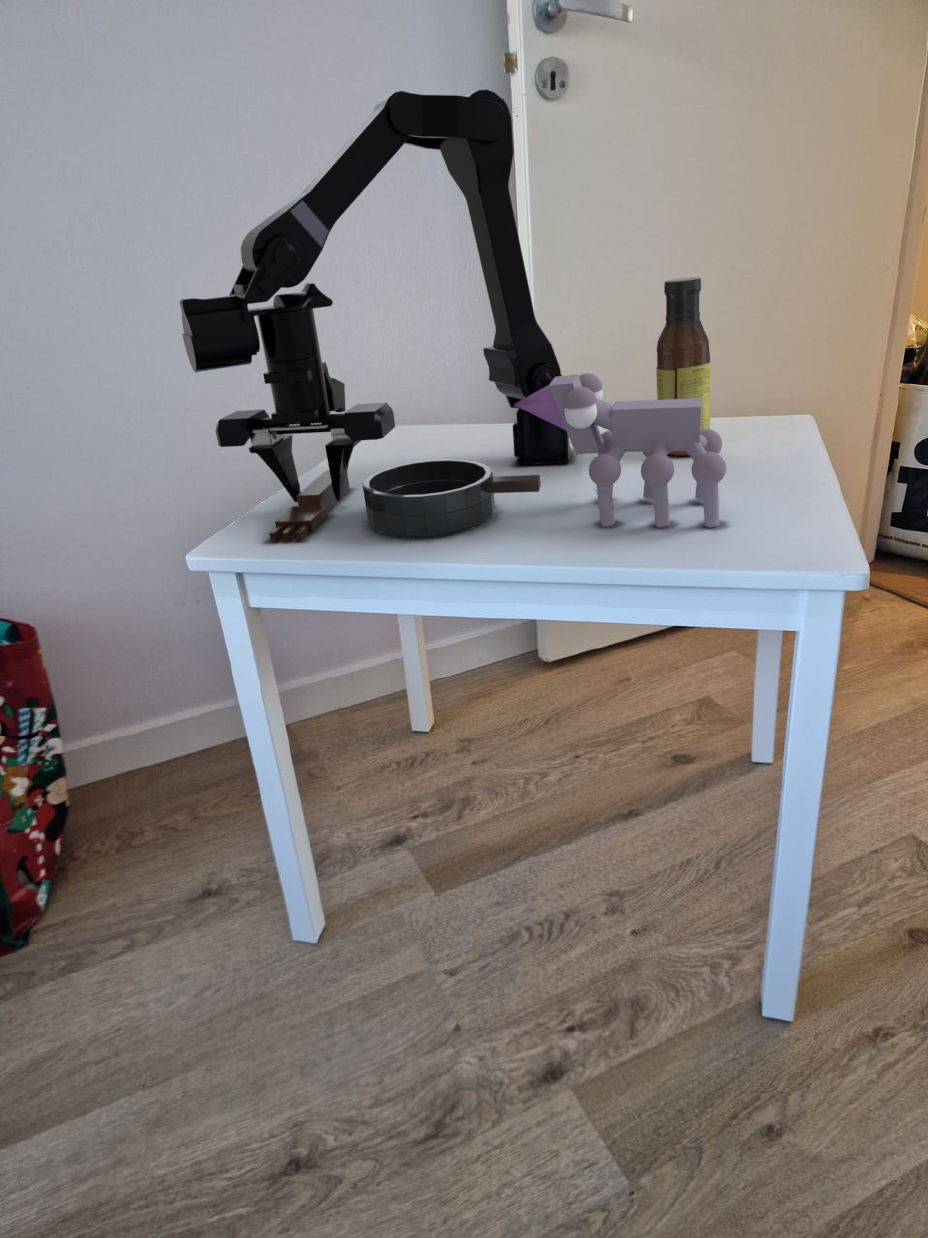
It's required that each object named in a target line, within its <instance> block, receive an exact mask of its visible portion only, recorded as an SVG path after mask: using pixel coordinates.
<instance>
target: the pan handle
mask: <svg viewBox="0 0 928 1238" xmlns="http://www.w3.org/2000/svg"><path fill="white" fill-rule="evenodd" d="M541 481H542V480H541V474H527V475H525V474H524V475H497V476H496V475H495V476H494V475H493V477H492V479H491V481H490V490H491V493H494V494H506V493H508V494H510V493H538V492H540V489H541V487H542V484H541V483H542V482H541Z"/></svg>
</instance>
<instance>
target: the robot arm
mask: <svg viewBox="0 0 928 1238" xmlns="http://www.w3.org/2000/svg"><path fill="white" fill-rule="evenodd" d="M404 145H409V146H412V147H416V148H420V149H425V150H433V151H440V153H441V156H442V158H443V162H444V164H445V167H446V168H447V171H448V173H449V175H450V176H451V178H452V179H453V181H454V182H455V184H456V185H457V187H458V188H459V190H460V191H461V193H462V195H463V196H464V199H465V201H466V204H467V209H468V214H469V218H470V222H471V227H472V231H473V235H474V239H475V242H476V243H475V244H476V247H477V253H478V256H479V261H480V266H481V270H482V274H483V278H484V282H485V287H486V292H487V296H488V301H489V304H490V309H491V313H492V318H493V322H494V326H495V327H494V328H495V333H494V339H493V344H492V346H488V347H487V346H486V347H484V348H483V349H482V350H483V356H484V358H485V361H486V364H487V367H488V381H489V382H493V383H494V384H495V388H496V389H497V390H498V392H500V393H501V394H503V395H505V398H506V400H507V403H508V405H509V408H511V409H517V410H516V413H515V414H516V420H515V421H514V422H513V424H512V441H513V456H514V457H515V458H517V459H516V465H518V466H521V465H522V466H523V465H548V464H549V465H550V464H551V465H553V464H569V462H570V460H571V459H570V458H571V455H572V446H570V445H571V444H570V443H571V441H570V438H569V436H568V433H567V431H566V430H564V429H562V428H560V427H558V426H556V425H554V424H552V423H550V422H548V421H546V420H544V419H542V418H540V417H538V416H536V415H534V414H532V413H530V412H528V411H525V410H523V409H521V408H519V407H517V406H515V405H514V404H516V403H518V402H519V401H521V400H523V399H525V398H526V397H528V396H530V395H532V394H534V393H535V392H537V391H539V390H541V389H543V388H544V387H546V386H548V385H550V383H551V382H552V381H553V379H554V378H555V377H558V376H563V375H562V370H561V367H560V364H559V361H558V359H557V355H556V353H555V351H554V347H553V345H552V343H551V341H550V339H549V338H548V337H547V335H546V333H545V332H544V330H543V329H542V328H541V326H540V325H539V323H538V321H537V318H536V315H535V310H534V305H533V299H532V295H531V290H530V285H529V280H528V276H527V275H528V274H527V270H526V266H525V265H526V264H525V261H524V256H523V251H522V246H521V241H520V237H519V232H518V227H517V221H516V216H515V211H514V206H513V202H512V196H511V193H510V177H511V172H512V167H513V160H514V154H515V150H514V149H515V147H514V133H513V119H512V114H511V110H510V108H509V105H508V102H506V100H505V99H504V98H502V97H501V96H500V95H499V94H497V93H496V92H495V91H492V90H489V89H477V90H476V91H474V92H471V93H468V94H466V95H455V94H454V95H453V94H451V95H450V94H419V93H412V92H409V91H404V90H399V91H395V92H392V93H391V94H389V95H387V96H385V97H383V98H381V99H380V100H379V101H377V103H376V104H375V106H374V108H373V110H372V111H371V113H370V115H368V116H367V118H366V120H364V122H363V123H362V124H360V126H359V127H358V128H357V130H355V132H354V133H353V134H352V135H351V136H350V137H349V139H348V140H347V141H346V142H345V143H344V144H343V145H342V147H341V148H340V149H339V150H338V151H337V152H336V153H335V154H334V156H333V157H332V158H331V159H330V160H329V162H327V163H326V165H325V166H323V168H322V169H321V170H320V171H319V173H317V175H316V176H315V177H314V179H312V181H311V182H310V183H309V184H308V185H307V186H306V188H305V189H304V190H303V191H302V192H301V193H300V194H299V195H298V196H297V197H295V198H294V199H292V200H291V201H290V202H289V203H286V204H285V205H284V206H282V207H281V208H279V209H278V210H276V211H275V212H274V213H272V214H271V215H269V216H268V217H267V218H266V219H264V220H263V221H262V222H260V223H259V224H257V225H256V226H254V228H253V229H251V230H250V231H249V232H248V233H247V234H246V235H245V236H244V238H243V240H242V242H241V245H240V255H241V257H240V259H241V263H242V266H241V268H240V270H239V272H238V275H237V277H236V279H235V282H234V284H233V285H232V288H231V290H230V293H228V294H229V295H225V296H217V297H209V298H196V297H188V298H181V299H180V300H179V307H180V311H181V322H182V323H181V324H182V330H183V332H182V334H181V335H182V340H183V344H184V347H185V351H186V355H187V358H188V361H189V364H190V367H191V368H192V370H193V372H194V373H201V372H206V371H207V372H208V371H214V370H221V369H227V368H233V367H234V368H235V367H241V366H247V365H251V364H252V362H253V356H257V355H258V353H260V350H261V344H260V338H261V343H262V347H263V353H264V360H265V363H266V370H267V372H264V373H263V374H262V375H263V380H264V381H263V382H264V384H265V385H269V384H270V389H271V395H272V399H273V405H274V412H272V413H271V414H270V415H271V416H270V415H269V414H268V413H267V411H266V410H265V409H247V410H246V409H245V410H236V411H234V412H232V413H230V414H228V415H226V416H224V417H222V418H219V420H218V421H217V423H216V426H215V431H214V432H215V435H216V441H217V444H218V447H220V448H229V447H244V446H245V445H246V444H247V443H248V441H249V440H250V445H251V446H250V447H248V451H249V453H250V454H257V456H258V457H259V458H260V459H261V460H262V461H263V463H265V464H266V466H267V467H268V468H269V469H270V470H271V472H273V474H274V475H275V477H276V478H277V479H278V481H279V482H280V483H281V485H282V486H283V488H284V489H285V491H286V492H287V494H288V495H289V496H290V497H291V499H292V500H293V502H294V503H298V501H297V495H298V494H299V493H300V492H301V491H302V490H301V485H300V481H299V477H298V471H297V468H296V464H295V460H294V456H293V435H295V434H297V435H299V434H315V433H317V434H318V433H330V436H332V437H331V438H332V440H331V441H329V442H328V443H327V444H325V445H324V447H325V453H326V459H327V464H328V470H329V471H330V477H331V482H332V488H333V492H334V495H335V498H336V501H338V502H340V501H342V500H343V497H344V496H343V492H344V487H345V481H346V475H347V474H348V470H349V464H350V460H351V457H352V454H353V450H354V448H355V447H356V446H357V445H358V444H360V443H361V442H362V441H376V440H381V439H383V438H385V437H386V436H387V435H388V434H389V433H390V432H392V430H394V429H395V428H396V421H395V413H394V411H393V408H392V407H391V406H390V405H389V404H388V402H369V403H357V404H355V405H354V406H352V407H351V408H350V409H349V408H348V409H347V411H346V387H345V384H346V383H344V382H343V381H341V380H338V379H336V378H334V377H331V376H330V374H329V368H328V366H327V362H326V361H323V360H322V354H321V349H320V343H319V342H320V341H319V337H318V330H317V323H316V318H315V312H314V311H315V310H314V309H320V308H328V307H332V306H333V305H334V304H333V303H334V301H333V300H332V298H331V297H329V296H327V295H326V294H324V293H323V292H322V291H321V290H320V289H319V288H318V287H317V285H316V284H315V283H314V282H307V283H305V284H304V287H303V288H302V290H301V291H297V292H291V293H290V292H289V293H282V294H277V293H278V292H279V291H280V289H282V288H283V289H289V288H294V287H296V286H298V285H300V284H301V283H302V282H303V281H305V279H306V278H307V277H308V275H309V274H310V272H311V270H312V268H313V267H314V265H315V264H316V262H317V260H318V258H319V257H320V255H321V254H322V252H323V250H324V247H325V245H326V242H327V240H328V237H329V235H330V233H331V231H332V229H333V227H334V226H335V224H336V222H338V220H339V219H340V218H341V217H342V215H343V214H344V213H345V212H346V211H347V210H348V209H349V208H350V207H351V205H352V204H353V203H354V202H355V201H356V200H357V198H358V197H359V196H360V195H361V194H362V193H363V192H364V191H365V189H366V188H367V187H368V186H369V185H370V184H371V182H372V181H373V180H374V179H375V178H376V177H377V176H378V175H379V173H380V172H381V171H382V170H383V169H384V167H386V165H387V164H388V163H389V162H390V160H392V158H393V157H394V156H395V155H396V154H397V153H398V152H399V150H400V149H401V148H402V147H403V146H404ZM275 294H276V295H275ZM274 295H275V296H274ZM273 297H274V298H273ZM272 298H273V303H272V305H269V306H264V307H256V308H250V309H249V307H248V306H249V305H250V304H252V305H253V304H261V303H267V302H269V301H270V299H272ZM255 317H257V323H258V326H257V323H256V319H255ZM258 327H259V331H258ZM259 334H260V336H259ZM331 412H335V413H331Z"/></svg>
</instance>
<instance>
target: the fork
mask: <svg viewBox="0 0 928 1238" xmlns="http://www.w3.org/2000/svg"><path fill="white" fill-rule="evenodd" d="M348 475H349V474H348V473H347V475H346V481H345V487H344V492H343V497H345V496H346V495H347V494H348V492H350V491H351V488H350V483H349V482H350V481H349V476H348ZM300 491H301V492H300V493H299V494H298V495H297V501H298V502H297V505H296V506H295V505H294V506H291V507H290V508H289V509H288V510H287V511H285V512H284V513H282V515H281V516H279V518H277V519H276V520H275V521H274V524H275V528H273V529H272V530H271V531H270V532H269V538H270V539H269V540H270V542H271V543H277V542H278V541H279V540H280V539H281V538H282V541H283V542H284V543H289V542H291V540H293V538H295V541H296V542H303V541H304V540H305V539H306V538H307V537H308V536H309V535H310V534H313V533H314V532H315V531H316V530H317V529H318V528H320V526H321V525H323V523H324V522H325V521H326V520H327V519H328V518H329V512H330V511H331V510H332V509H333V507H334V506H336V504H338V503H339V501H336V498H335V495H334V492H333V488H332V482H331V477H330V471H329V469H326V470H325V471H324V472H322V474H320V475H319V476H318V477H317V478H315V479H314V480H313V481H312V482H310V484H308V485H307V486H306V487H305V488H304V489H303V490H300Z"/></svg>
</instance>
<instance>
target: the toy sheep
mask: <svg viewBox="0 0 928 1238" xmlns="http://www.w3.org/2000/svg"><path fill="white" fill-rule="evenodd" d="M603 395H604V393H603V384H602V381H601V380H600V378H599V377H598V376H597V375H595V374H593V373H589V372H588V373H587V372H586V373H582V374H580V375H579V374H578V373H576V374H569V375H567V374H566V375H562V376H558V377H555V378H554V379H553V381H552V382H551V383H550V385H548V386H546V387H544V388H543V389H541V390H539V391H537V392H535V393H534V394H532V395H530V396H528V397H526V398H525V399H523V400H521V401H519V402H518V403H516V404H514V405H515V406H517V407H519V408H521V409H523V410H525V411H528V412H530V413H532V414H534V415H536V416H538V417H540V418H542V419H544V420H546V421H548V422H550V423H552V424H554V425H556V426H558V427H560V428H562V429H564V430H566V431H567V433H568V436H569V440H570V443H571V445H572V446H571V447H572V448H573V450H574V453H575V455H576V456H578V455H589V454H590V455H591V454H597V456H595V457H594V458H593V459H592V460H591V461H590V464H589V466H588V475H589V478H590V480H591V481H592V482H593V483H594V485H595V486H596V489H595V488H594V487H593V489H594V491H595V492H596V495H597V502H598V505H596V507H597V508H598V510H599V521H600V525H601V527H604V528H607V527H611V526H613V525H614V524H615V523H616V520H615V509H614V501H613V497H614V495H613V494H614V484H616V482H618V480H619V479H620V477H621V474H622V466H621V460H622V459H623V456H624V455H625V454H626V453H642V454H643V456H645V459H644V460H643V462H642V464H641V466H640V475H641V478H642V480H643V493H642V494H643V495H642V497H643V498H645V499H648V500H653V501H652V502H653V512H654V525H655V527H656V528H666V527H668V526H670V523H671V519H670V505H669V488H668V483H669V482H670V481H671V480H672V479H673V477H674V474H675V465H674V462H673V461H672V459H671V458H670V456H668V455H669V454H668V453H669V452H670V451H687V452H688V454H689V455H688V456H690V458H691V459H692V461H693V462H692V465H691V470H690V471H691V475H692V478H693V479H694V481H695V482H696V485H695V495H694V498H695V499H697V500H702V501H703V519H704V520H703V521H704V526H705V527H706V528H715V527H717V526H720V498H719V497H720V496H719V495H720V494H719V493H720V492H719V483H720V482H721V481H722V480H723V479H724V477H725V476H726V472H727V465H726V462H725V461H726V460H725V459H724V458H723V457H722V456H721V455H720V452H721V450H722V449H723V439H722V437H721V435H720V433H718V432H717V431H716V430H714V429H711V428H710V429H703V430H700V426H701V402H702V398H695V399H667V400H657V399H643V400H642V399H639V400H616V401H614V403H613V404H612V403H610V402H607V401H605V400H603V398H604V397H603ZM599 427H600V428H602V429H605V430H606V431H604V432H602V433H601V431H600V428H599Z"/></svg>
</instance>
